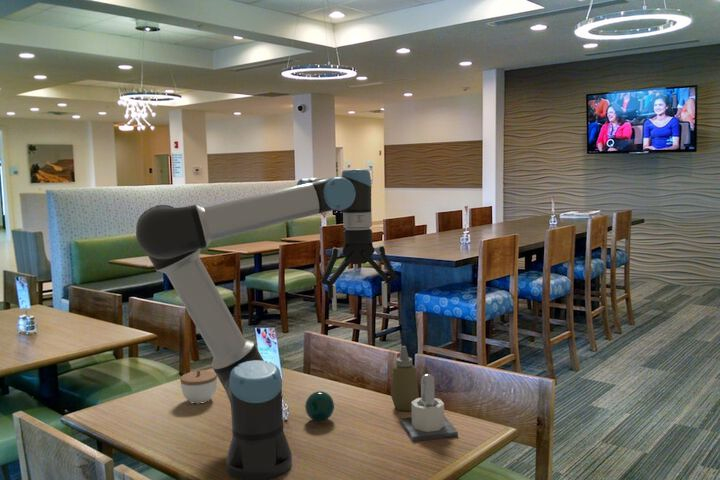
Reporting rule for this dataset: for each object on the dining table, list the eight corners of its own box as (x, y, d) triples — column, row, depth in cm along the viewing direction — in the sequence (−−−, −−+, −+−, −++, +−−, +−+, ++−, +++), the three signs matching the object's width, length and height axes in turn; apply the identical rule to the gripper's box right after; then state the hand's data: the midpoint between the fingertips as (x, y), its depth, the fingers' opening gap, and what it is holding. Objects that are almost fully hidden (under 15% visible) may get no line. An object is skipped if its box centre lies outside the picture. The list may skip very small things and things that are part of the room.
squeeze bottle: (417, 413, 167) (416, 351, 165) (389, 412, 168) (387, 350, 166) (420, 403, 174) (419, 343, 173) (393, 401, 176) (392, 342, 174)
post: (412, 441, 149) (411, 383, 148) (400, 422, 161) (399, 369, 159) (457, 436, 151) (457, 379, 150) (442, 418, 163) (442, 365, 162)
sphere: (324, 412, 169) (323, 385, 169) (340, 421, 163) (339, 392, 162) (300, 419, 165) (299, 391, 164) (315, 428, 158) (314, 399, 157)
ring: (417, 432, 151) (417, 410, 151) (409, 420, 159) (408, 398, 158) (447, 429, 153) (447, 406, 152) (437, 417, 160) (437, 396, 160)
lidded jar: (188, 394, 187) (186, 365, 186) (222, 394, 186) (220, 364, 185) (176, 407, 176) (174, 376, 175) (212, 407, 176) (210, 376, 175)
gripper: (311, 231, 150) (314, 314, 152) (407, 227, 154) (408, 308, 156) (308, 229, 157) (311, 308, 159) (400, 225, 162) (401, 302, 164)
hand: (359, 308), depth 158 cm, fingers open, 13 cm apart
